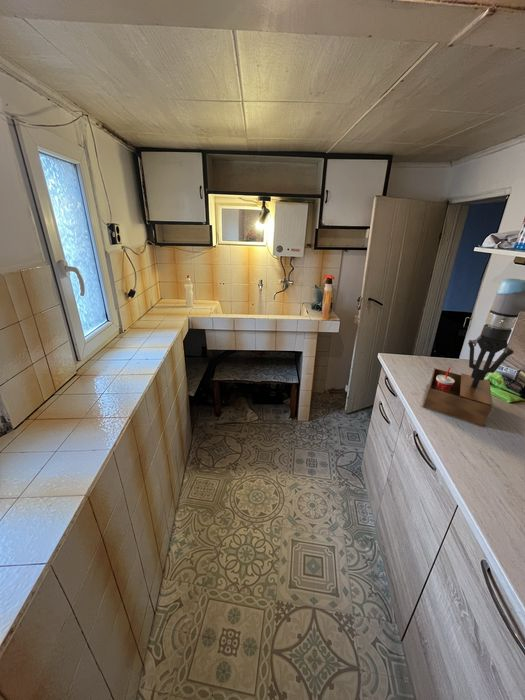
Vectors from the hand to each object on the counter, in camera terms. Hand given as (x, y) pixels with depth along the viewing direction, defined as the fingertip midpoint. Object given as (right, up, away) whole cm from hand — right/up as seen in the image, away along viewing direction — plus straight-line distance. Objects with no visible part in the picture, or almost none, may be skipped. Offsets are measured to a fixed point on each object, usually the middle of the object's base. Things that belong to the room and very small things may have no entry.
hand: (473, 386), depth 104 cm
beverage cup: (-8, -6, +8) cm, 13 cm away
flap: (0, -1, 0) cm, 1 cm away
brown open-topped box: (-4, -8, +6) cm, 10 cm away
